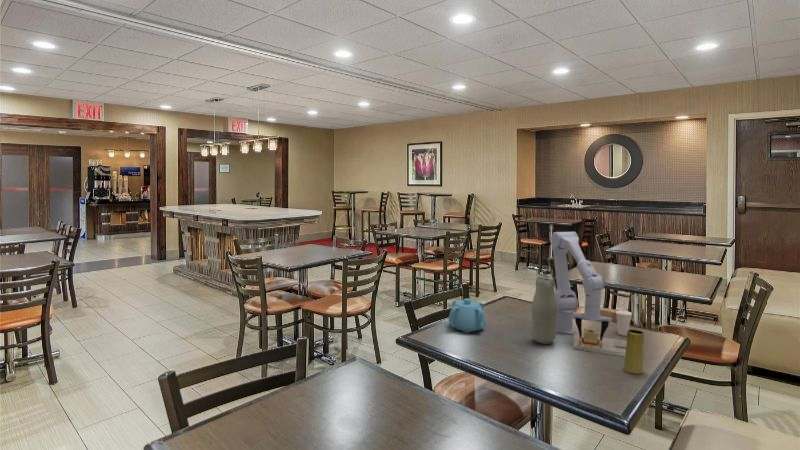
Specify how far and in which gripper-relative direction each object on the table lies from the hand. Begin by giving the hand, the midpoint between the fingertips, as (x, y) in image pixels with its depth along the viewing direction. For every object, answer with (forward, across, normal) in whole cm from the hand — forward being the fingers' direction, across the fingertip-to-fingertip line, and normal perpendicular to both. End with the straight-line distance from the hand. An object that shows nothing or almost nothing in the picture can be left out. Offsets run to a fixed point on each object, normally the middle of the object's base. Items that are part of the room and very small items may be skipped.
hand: (590, 338), depth 182 cm
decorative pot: (+3, -51, -1) cm, 51 cm away
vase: (+3, +14, -20) cm, 25 cm away
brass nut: (+3, 0, 0) cm, 3 cm away
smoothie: (+3, +13, +20) cm, 24 cm away
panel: (+3, +6, 0) cm, 7 cm away
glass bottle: (+3, -18, -5) cm, 19 cm away
